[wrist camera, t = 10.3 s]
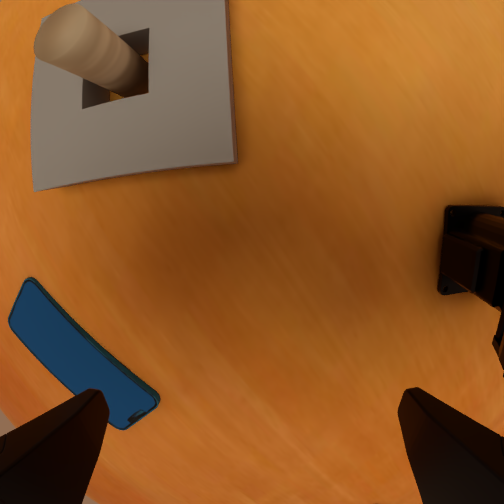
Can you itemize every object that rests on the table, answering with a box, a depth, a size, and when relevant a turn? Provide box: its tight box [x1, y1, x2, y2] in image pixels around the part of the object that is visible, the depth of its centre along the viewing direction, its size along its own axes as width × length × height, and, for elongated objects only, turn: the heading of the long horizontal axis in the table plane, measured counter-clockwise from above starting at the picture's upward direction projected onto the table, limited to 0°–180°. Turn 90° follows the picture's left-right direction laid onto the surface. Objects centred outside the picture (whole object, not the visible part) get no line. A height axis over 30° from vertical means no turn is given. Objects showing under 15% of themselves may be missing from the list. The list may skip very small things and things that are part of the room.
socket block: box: [31, 0, 238, 192], centre depth 14 cm, size 12×12×4 cm
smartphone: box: [8, 277, 160, 430], centre depth 21 cm, size 7×1×15 cm
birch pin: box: [34, 4, 149, 98], centre depth 11 cm, size 3×3×9 cm
